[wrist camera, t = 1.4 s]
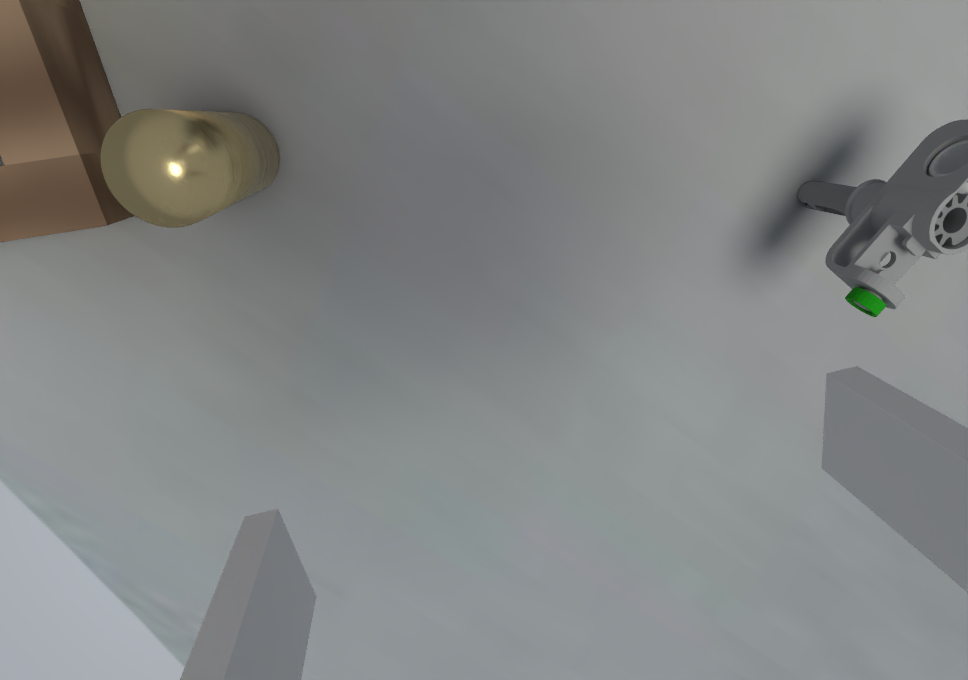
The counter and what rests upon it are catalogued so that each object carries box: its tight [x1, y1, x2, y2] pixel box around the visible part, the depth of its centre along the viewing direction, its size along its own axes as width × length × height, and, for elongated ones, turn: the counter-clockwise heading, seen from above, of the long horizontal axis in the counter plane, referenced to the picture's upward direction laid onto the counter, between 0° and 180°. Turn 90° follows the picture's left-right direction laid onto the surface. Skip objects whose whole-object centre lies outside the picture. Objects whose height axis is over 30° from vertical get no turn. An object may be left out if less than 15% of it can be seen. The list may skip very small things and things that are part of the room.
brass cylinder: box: [100, 109, 280, 227], centre depth 24 cm, size 4×4×10 cm
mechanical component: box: [797, 120, 968, 317], centre depth 29 cm, size 3×10×10 cm, turn 145°
